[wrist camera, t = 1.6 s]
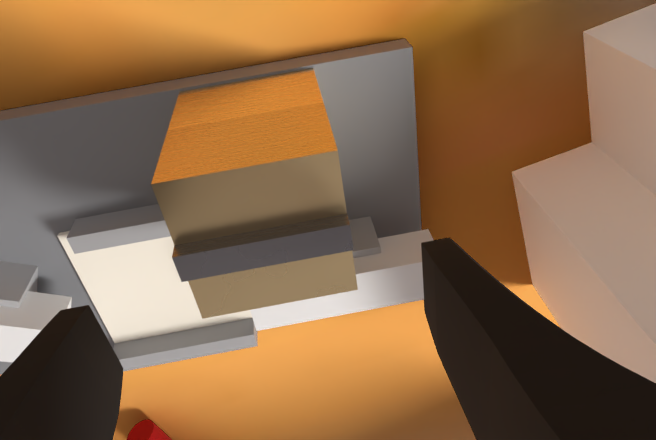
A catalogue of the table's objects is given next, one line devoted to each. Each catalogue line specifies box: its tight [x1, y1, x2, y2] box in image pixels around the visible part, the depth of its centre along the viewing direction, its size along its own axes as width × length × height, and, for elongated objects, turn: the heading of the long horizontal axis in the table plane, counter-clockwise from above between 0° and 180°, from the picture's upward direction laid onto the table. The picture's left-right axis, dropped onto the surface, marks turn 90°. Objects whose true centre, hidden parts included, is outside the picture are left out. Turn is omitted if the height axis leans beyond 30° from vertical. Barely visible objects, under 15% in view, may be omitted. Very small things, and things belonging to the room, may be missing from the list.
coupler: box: [151, 68, 358, 319], centre depth 16 cm, size 4×4×6 cm
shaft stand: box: [0, 39, 433, 375], centre depth 20 cm, size 19×11×4 cm, turn 98°
